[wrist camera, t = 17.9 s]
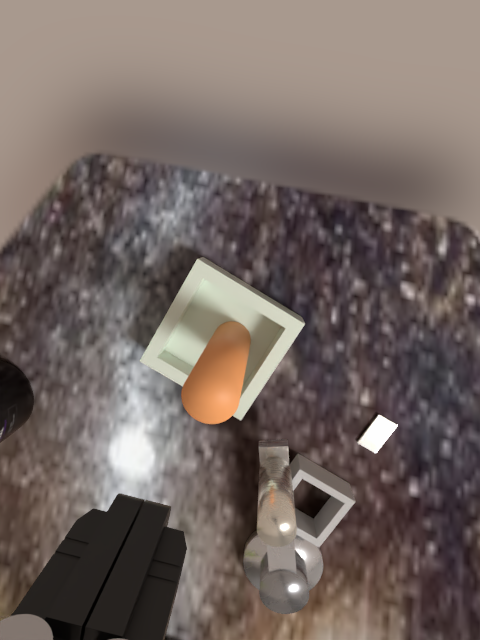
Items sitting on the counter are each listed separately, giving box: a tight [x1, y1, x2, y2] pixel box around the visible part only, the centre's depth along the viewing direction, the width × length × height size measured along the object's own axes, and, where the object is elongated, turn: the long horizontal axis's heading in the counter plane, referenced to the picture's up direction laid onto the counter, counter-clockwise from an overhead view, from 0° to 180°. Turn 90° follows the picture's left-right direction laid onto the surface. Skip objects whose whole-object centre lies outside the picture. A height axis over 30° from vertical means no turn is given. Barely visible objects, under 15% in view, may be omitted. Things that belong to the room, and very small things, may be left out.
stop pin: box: [181, 321, 251, 424], centre depth 25 cm, size 3×3×11 cm
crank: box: [257, 439, 309, 614], centre depth 28 cm, size 15×4×8 cm, turn 5°
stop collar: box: [290, 454, 355, 547], centre depth 32 cm, size 5×5×2 cm
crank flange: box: [243, 414, 397, 590], centre depth 33 cm, size 7×20×1 cm, turn 149°
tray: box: [140, 257, 305, 421], centre depth 29 cm, size 9×9×2 cm
